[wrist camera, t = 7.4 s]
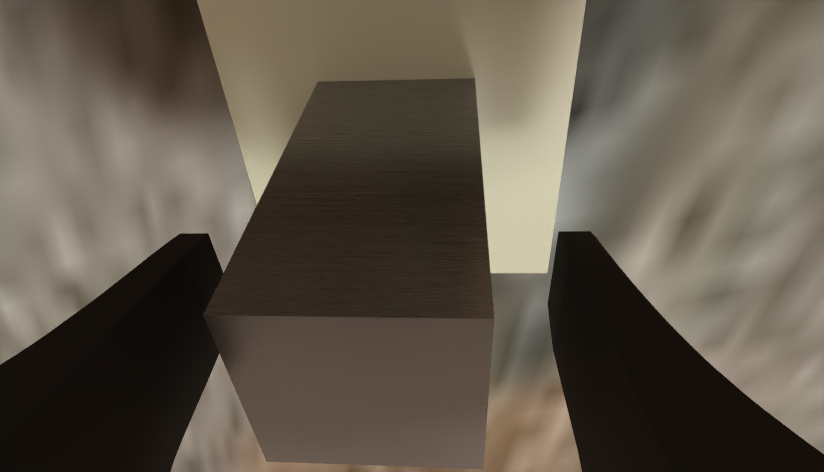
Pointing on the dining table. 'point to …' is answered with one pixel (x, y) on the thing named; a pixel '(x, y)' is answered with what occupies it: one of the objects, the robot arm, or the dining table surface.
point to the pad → (410, 60)
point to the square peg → (366, 283)
